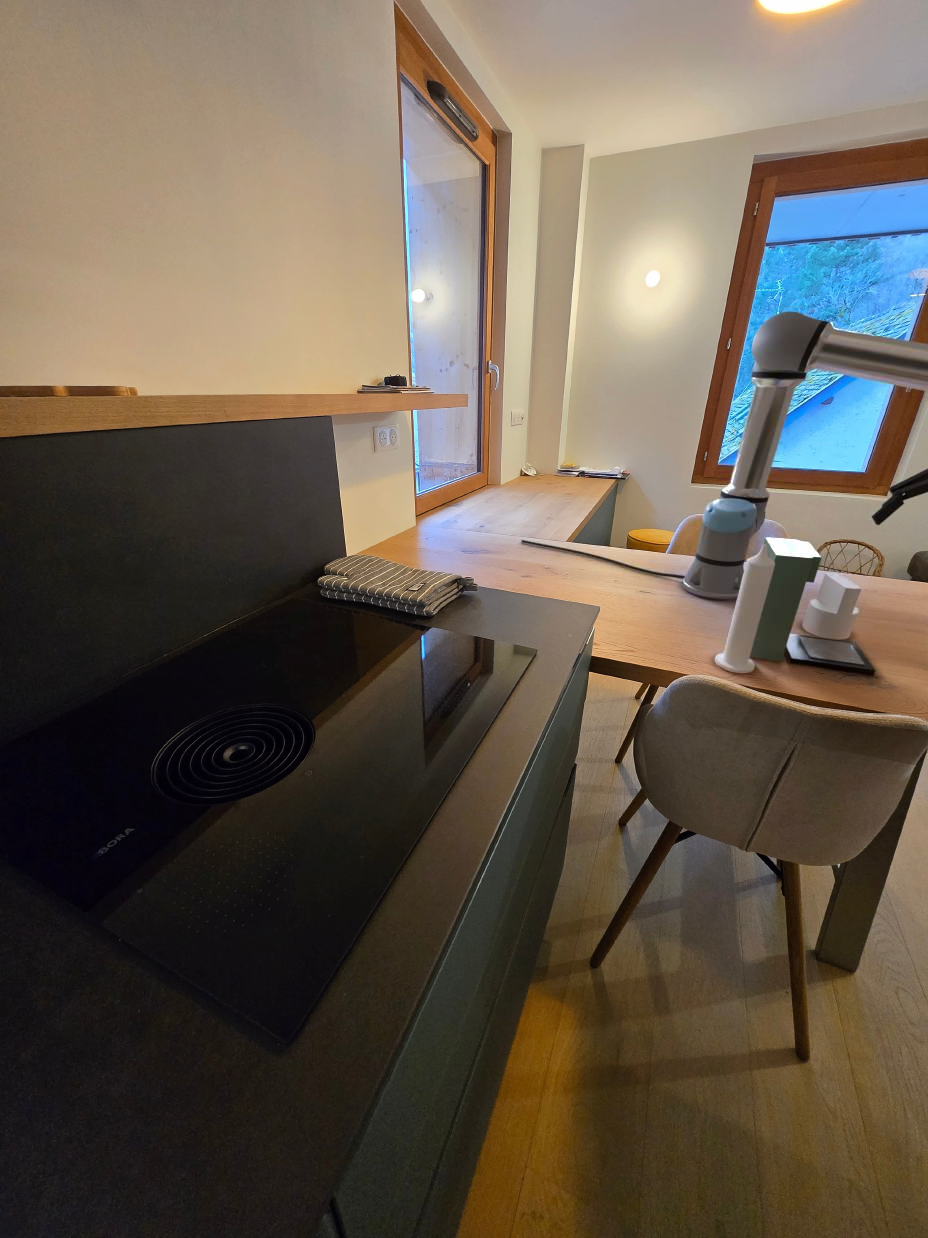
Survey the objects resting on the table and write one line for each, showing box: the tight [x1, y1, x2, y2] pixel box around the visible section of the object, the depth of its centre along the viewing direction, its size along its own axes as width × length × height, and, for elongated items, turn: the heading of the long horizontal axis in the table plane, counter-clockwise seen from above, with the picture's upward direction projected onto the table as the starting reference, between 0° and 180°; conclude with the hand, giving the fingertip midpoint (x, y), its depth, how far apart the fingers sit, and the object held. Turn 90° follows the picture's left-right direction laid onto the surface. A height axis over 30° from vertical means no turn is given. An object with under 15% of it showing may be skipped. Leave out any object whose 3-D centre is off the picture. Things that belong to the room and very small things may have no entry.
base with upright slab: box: [801, 572, 862, 640], centre depth 109 cm, size 9×9×12 cm
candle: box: [714, 543, 775, 674], centre depth 93 cm, size 7×7×25 cm
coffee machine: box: [749, 537, 877, 676], centre depth 98 cm, size 22×12×22 cm, turn 70°
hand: (904, 529), depth 103 cm, fingers open, 13 cm apart
